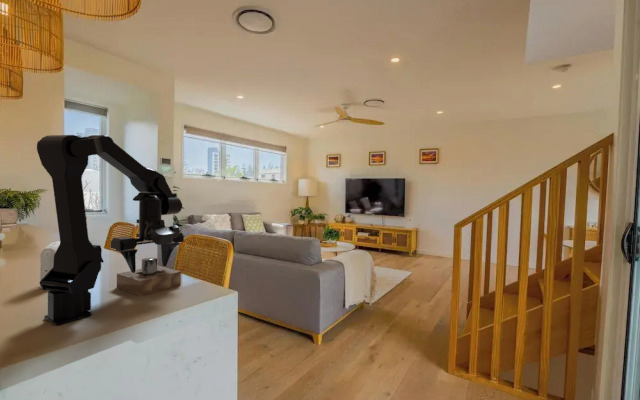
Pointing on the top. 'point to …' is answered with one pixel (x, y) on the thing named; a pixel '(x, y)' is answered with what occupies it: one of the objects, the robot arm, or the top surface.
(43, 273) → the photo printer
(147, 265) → the grey metal cylinder
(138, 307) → the top surface
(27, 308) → the top surface
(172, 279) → the socket block
